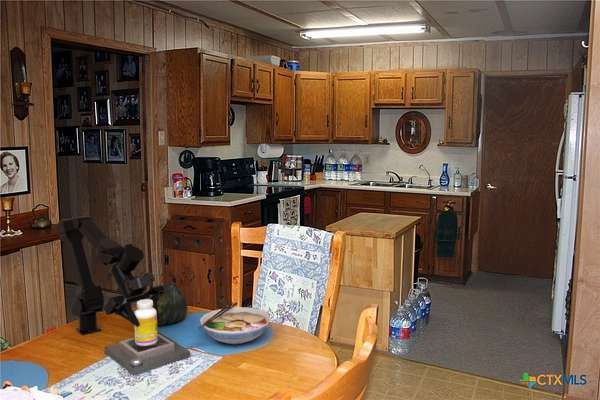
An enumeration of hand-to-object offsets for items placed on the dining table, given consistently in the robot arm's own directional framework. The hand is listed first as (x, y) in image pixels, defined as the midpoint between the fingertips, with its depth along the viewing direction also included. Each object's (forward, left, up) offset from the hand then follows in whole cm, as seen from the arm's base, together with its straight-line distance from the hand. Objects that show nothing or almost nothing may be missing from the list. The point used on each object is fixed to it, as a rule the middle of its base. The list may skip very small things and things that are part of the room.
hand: (148, 322), depth 159 cm
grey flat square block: (-1, 0, -11) cm, 11 cm away
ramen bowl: (+7, +27, -11) cm, 30 cm away
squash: (-23, +18, -11) cm, 31 cm away
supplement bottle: (-1, 0, -7) cm, 7 cm away
